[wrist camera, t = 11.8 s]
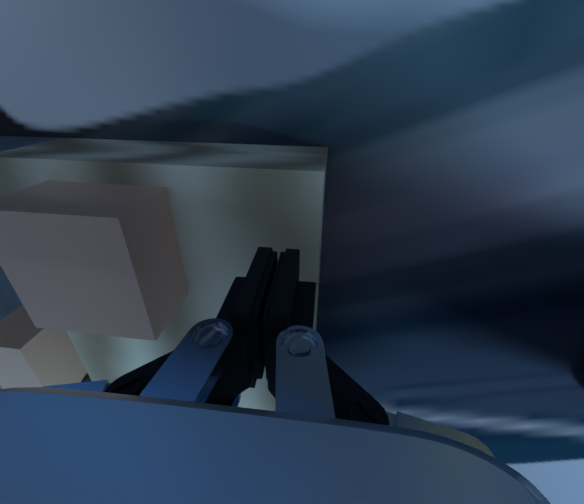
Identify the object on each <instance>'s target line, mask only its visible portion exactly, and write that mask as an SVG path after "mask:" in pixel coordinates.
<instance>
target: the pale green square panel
mask: <svg viewBox="0 0 584 504" xmlns="http://www.w3.org/2000/svg"><path fill="white" fill-rule="evenodd" d="M327 155H328V147H315V146H286V145H257V144H228V143H200V142H171V141H142V140H114V139H85V138H60V139H55V140H51V141H46V142H42V143H37V144H33V145H29V146H24V147H20V148H15V149H11V150H6V151H2V152H0V197H2V196H5V195H7V194H10V193H13V192H16V191H19V190H21V189H24V188H27V187H30V186H33V185H35V184H38V183H41V182H44V181H63V182H82V183H101V184H121V185H140V186H159V187H167V190H168V195H169V200H170V205H171V210H172V214H173V219H174V224H175V229H176V234H177V239H178V244H179V249H180V253H181V258H182V263H183V268H184V273H185V278H186V283H187V287H188V292H189V293H188V295H187V296H186V298H185V299H184V301H183V302H182V304H181V305H180V306H179V308H178V309H177V311H176V312H175V314H174V315H173V317H172V318H171V320H170V321H169V322H168V324H167V325H166V327H165V328H164V330H163V331H162V333H161V334H160V335H159V337H158V338H157V340H156V341H151V340H142V339H133V338H124V337H115V336H106V335H98V334H89V333H80V332H71V331H67V333H68V335H69V337H70V339H71V341H72V343H73V345H74V347H75V349H76V351H77V353H78V355H79V357H80V359H81V361H82V363H83V365H84V367H85V369H86V371H87V373H88V375H89V377H90V379H91V381H100V380H108V381H109V383H112V382H113V381H114V380H116V379H117V378H119V377H121V376H122V375H124V374H126V373H128V372H130V371H132V370H134V369H136V368H138V367H141V366H143V365H145V364H147V363H149V362H151V361H153V360H155V359H157V358H159V357H161V356H163V355H165V354H167V353H169V352H171V351H173V350H174V349H175V348H176V347H177V345H178V344H179V343H180V342H181V340H182V339H183V338H184V336H185V335H186V334H187V332H188V331H189V330H190V329H191V328H192V327H193V326H194V325H195V324H197V323H198V322H200V321H203V320H206V319H211V318H216V317H217V315H218V313H219V311H220V308H221V306H222V304H223V302H224V300H225V298H226V296H227V294H228V292H229V289H230V287H231V285H232V283H233V281H234V279H235V277H246V275H247V272H248V270H249V268H250V265H251V263H252V260H253V258H254V256H255V253H256V251H257V249H258V247H272V249H273V251H277V257H278V259H279V256H280V252H285V251H286V248H288V249H300V270H299V281H307V282H316V293H315V309H314V323H313V329H314V330H315V331H316V323H317V308H318V293H319V278H320V262H321V247H322V232H323V216H324V201H325V186H326V171H327ZM238 407H243V408H252V409H261V410H270V411H275V398H274V396H273V395H272V394H271V393H270V392H269V390H268V381H267V380H266V369H264V374H263V378H262V379H257V381H256V385H255V388H248V389H246V390H245V391H243V392H242V393H241V398H240V402H239V404H238Z"/></svg>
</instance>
